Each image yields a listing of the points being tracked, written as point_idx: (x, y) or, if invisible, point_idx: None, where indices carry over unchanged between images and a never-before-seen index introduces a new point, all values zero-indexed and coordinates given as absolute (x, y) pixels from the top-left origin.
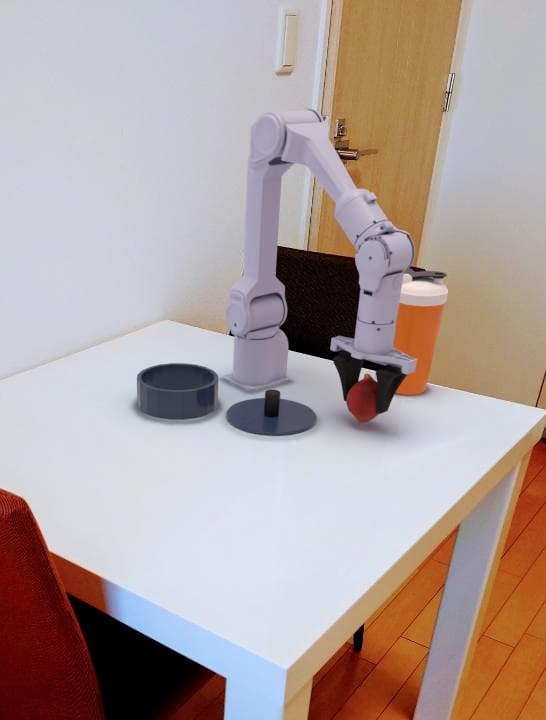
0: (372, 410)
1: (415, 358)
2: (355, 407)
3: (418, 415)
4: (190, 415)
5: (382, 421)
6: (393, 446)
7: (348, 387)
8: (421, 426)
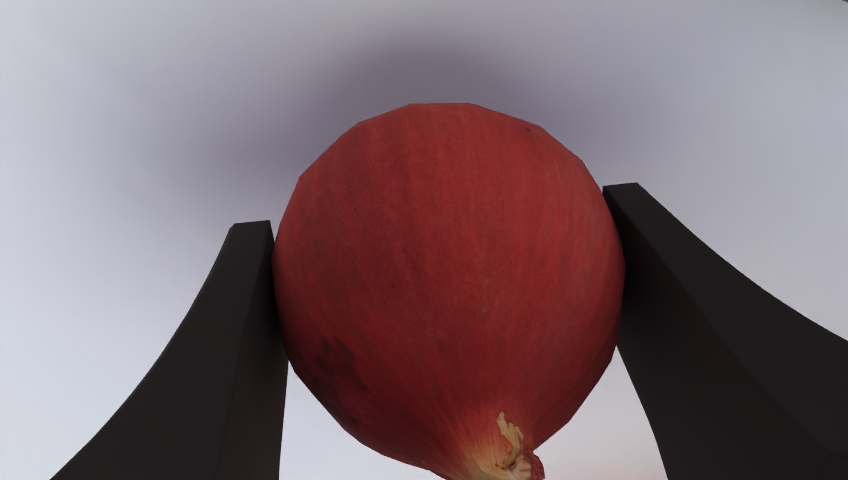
0: (289, 210)
1: None
2: (413, 126)
3: (348, 444)
4: None
5: None
6: (35, 86)
7: (652, 284)
8: None
